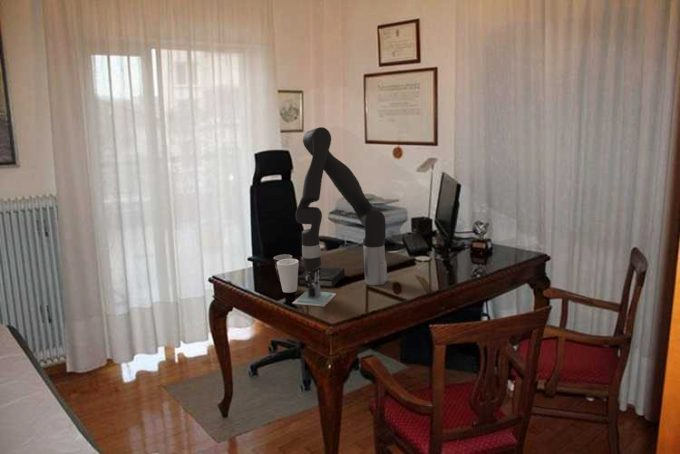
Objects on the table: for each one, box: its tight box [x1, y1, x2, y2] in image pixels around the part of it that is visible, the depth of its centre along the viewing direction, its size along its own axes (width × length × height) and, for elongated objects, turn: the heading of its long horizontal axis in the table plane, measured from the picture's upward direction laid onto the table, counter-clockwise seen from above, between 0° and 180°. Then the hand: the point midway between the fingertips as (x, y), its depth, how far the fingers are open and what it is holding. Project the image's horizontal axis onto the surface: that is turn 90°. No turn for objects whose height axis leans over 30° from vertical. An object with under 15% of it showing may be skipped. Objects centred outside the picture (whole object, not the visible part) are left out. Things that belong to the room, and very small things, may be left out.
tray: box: [291, 290, 337, 307], centre depth 236 cm, size 14×14×1 cm
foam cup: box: [277, 258, 300, 294], centre depth 247 cm, size 10×9×13 cm
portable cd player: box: [297, 266, 346, 288], centre depth 259 cm, size 16×17×4 cm
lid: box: [297, 283, 333, 304], centre depth 235 cm, size 11×11×6 cm
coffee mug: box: [273, 254, 293, 280], centre depth 266 cm, size 12×9×10 cm
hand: (314, 294), depth 236 cm, fingers closed on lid, 4 cm apart
